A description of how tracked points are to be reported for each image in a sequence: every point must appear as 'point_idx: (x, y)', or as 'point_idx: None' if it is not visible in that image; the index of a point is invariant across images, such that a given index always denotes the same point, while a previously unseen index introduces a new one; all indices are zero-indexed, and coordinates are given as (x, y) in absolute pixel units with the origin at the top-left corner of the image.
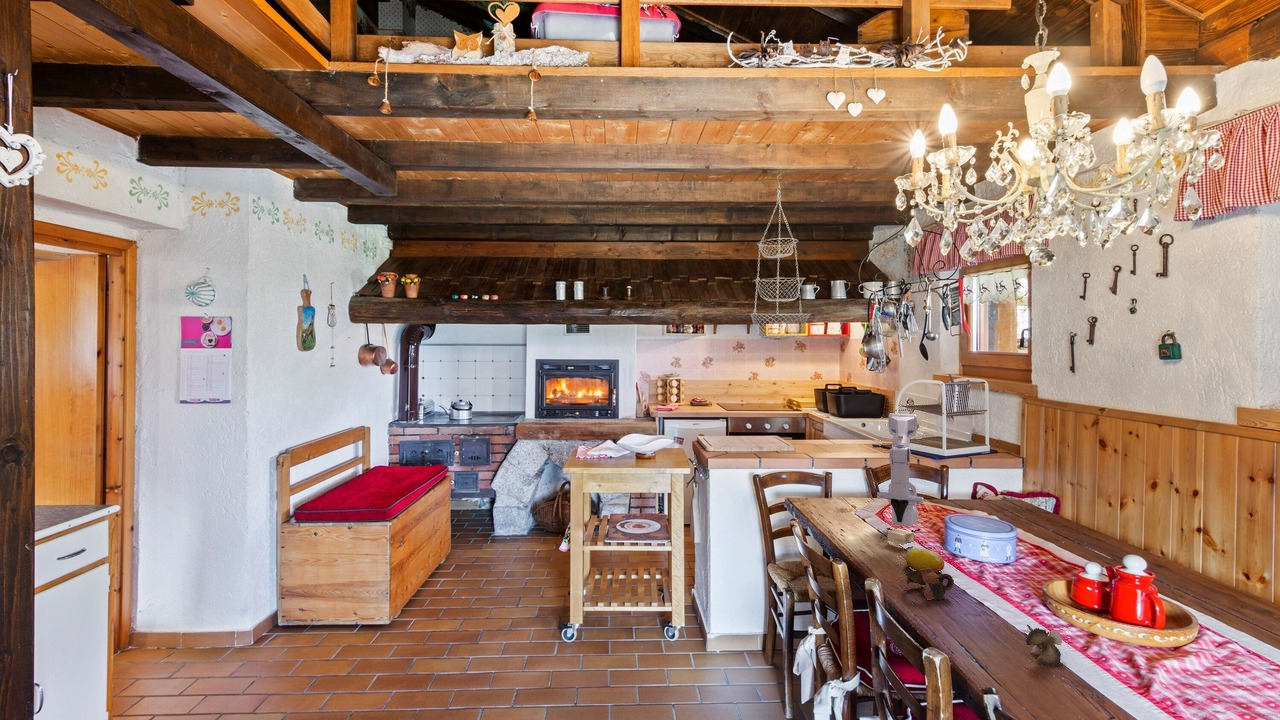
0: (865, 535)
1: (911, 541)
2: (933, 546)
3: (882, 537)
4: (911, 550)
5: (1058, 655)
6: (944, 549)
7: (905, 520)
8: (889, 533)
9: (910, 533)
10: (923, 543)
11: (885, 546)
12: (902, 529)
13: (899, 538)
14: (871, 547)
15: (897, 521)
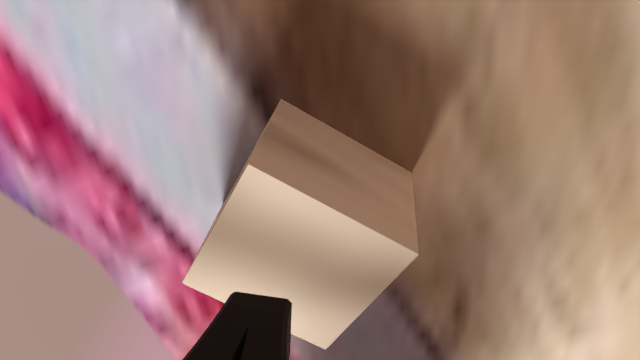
0: (575, 311)
1: (220, 210)
2: (118, 251)
3: (449, 307)
4: None
5: None
6: (45, 221)
7: None
8: (399, 229)
9: (200, 250)
10: None
11: (429, 117)
12: None
13: (297, 160)
14: (572, 24)
15: (284, 302)
